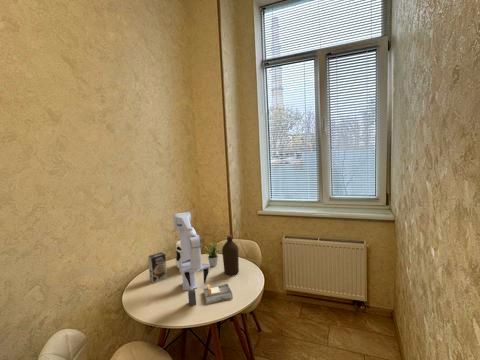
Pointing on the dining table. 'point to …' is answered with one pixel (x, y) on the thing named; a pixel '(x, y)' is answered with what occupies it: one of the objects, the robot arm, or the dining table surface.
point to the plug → (192, 297)
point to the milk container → (178, 253)
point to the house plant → (213, 254)
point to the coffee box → (157, 267)
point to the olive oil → (230, 257)
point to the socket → (218, 294)
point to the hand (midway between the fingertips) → (197, 284)
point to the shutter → (212, 290)
